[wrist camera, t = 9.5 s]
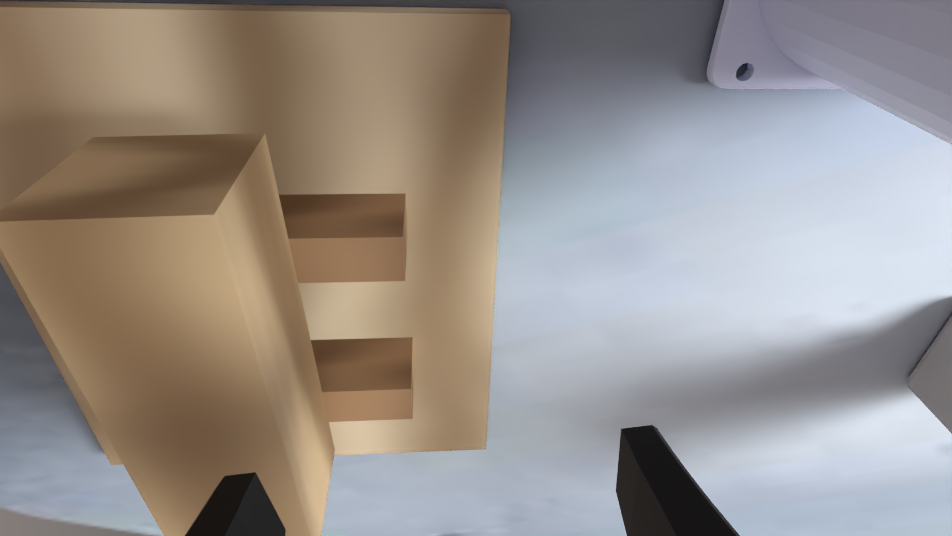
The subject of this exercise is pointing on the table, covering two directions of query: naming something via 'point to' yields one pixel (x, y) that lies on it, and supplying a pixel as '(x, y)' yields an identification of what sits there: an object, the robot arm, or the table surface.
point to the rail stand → (309, 174)
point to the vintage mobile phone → (936, 377)
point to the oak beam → (180, 317)
